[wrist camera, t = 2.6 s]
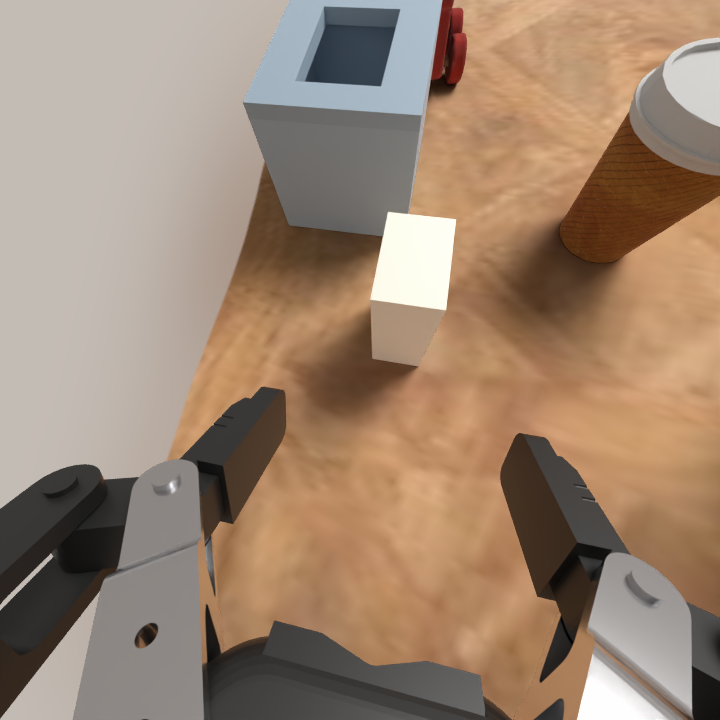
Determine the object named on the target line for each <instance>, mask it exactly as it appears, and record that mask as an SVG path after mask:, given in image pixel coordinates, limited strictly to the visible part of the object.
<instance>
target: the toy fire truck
mask: <svg viewBox="0 0 720 720" xmlns="http://www.w3.org/2000/svg"><path fill="white" fill-rule="evenodd" d="M453 3H454V0H442V7H441V14H440V20H439V27H438V34H437V41H436V47H435V54H434V61H433V68H432V75H431V80H434V79H439V78H440V77H441V75H442V71H443V66H446V67H445V79H446V82H447V83H448V84H453V83H458V82H459V81H460V79H461V77H462V73H463V69H464V65H465V59H466V50H467V38H466V34H465V33H462V27H463V10H462V8H452V6H453Z"/></svg>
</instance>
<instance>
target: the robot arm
mask: <svg viewBox="0 0 720 720" xmlns="http://www.w3.org/2000/svg"><path fill="white" fill-rule="evenodd" d="M285 429H286V402H285V392H284V390H280V389H274V388H268V387H261V388H260V389H259V390H258V391H257V393H256V394H255V395H254V396H253V397H252V398H251V399H249V398H244V399H242V400H240V401H238V402H237V403H235V404H233V405H231V406H230V407H229V408H228V409H227V410H226V412H225V413H224V414H223V415H222V417H220V418H219V419H218V420H217V421H216V422H215V423H214V425H213V426H211V427H210V428H209V429H208V430H207V431H206V432H205V433H204V434H203V435H202V436H201V438H200V439H199V440H198V441H197V442H196V443H195V444H194V445H193V446H192V447H191V448H190V449H189V450H188V451H187V452H186V453H185V454H184V455H183V456H182V457H181V458H180V459H178V460H170V461H166V462H163V463H160V464H158V465H156V466H154V467H152V468H150V469H149V470H147V471H146V472H145V473H143V474H142V475H141V476H140V477H135V478H122V479H107V480H104V479H103V476H102V474H101V472H100V470H99V469H98V468H97V467H95V466H93V465H86V464H84V465H74V466H70V467H66V468H63V469H60V470H58V471H55V472H53V473H51V474H49V475H47V476H45V477H43V478H42V479H40V480H39V481H37V482H36V483H34V484H33V485H31V486H30V487H29V488H28V489H26V490H25V491H23V492H22V493H21V494H19V495H18V496H17V497H15V498H14V499H13V500H12V501H10V502H9V503H8V504H6V505H5V506H4V507H2V508H1V509H0V604H1V603H2V602H3V600H4V599H5V598H6V597H7V596H8V595H9V594H10V593H11V592H12V591H13V590H14V589H15V588H16V587H17V586H18V585H19V584H20V583H21V582H22V581H23V580H24V579H25V578H26V577H27V576H28V575H29V574H30V573H31V572H32V571H33V570H34V569H35V568H36V567H37V566H38V565H39V564H40V563H42V561H43V560H44V559H46V558H47V557H48V556H49V555H50V553H52V555H53V558H52V559H51V560H50V561H49V562H48V563H47V564H46V565H45V566H44V567H43V568H42V569H41V570H40V571H39V572H38V573H37V574H36V575H35V576H34V577H33V578H32V579H31V580H30V581H29V582H28V583H27V584H26V585H25V586H24V587H23V588H22V589H21V590H20V591H19V592H18V593H17V594H16V595H15V596H14V597H13V598H12V599H11V600H10V601H9V602H8V603H7V605H5V606H4V607H3V608H2V609H1V611H0V718H1V717H2V716H3V714H4V713H5V712H6V711H7V709H8V708H9V707H10V705H11V704H12V703H13V702H14V700H15V699H16V698H17V696H18V695H19V694H20V693H21V691H22V690H23V689H24V687H25V686H26V685H27V684H28V682H29V681H30V680H31V678H32V677H33V676H34V675H35V673H36V672H37V671H38V670H39V668H40V667H41V666H42V664H43V663H44V662H45V660H46V659H47V658H48V657H49V655H50V654H51V653H52V652H53V650H54V649H55V648H56V646H57V645H58V644H59V643H60V641H61V640H62V639H63V637H64V636H65V635H66V634H67V632H68V631H69V630H70V628H71V627H72V626H73V625H74V623H75V622H76V621H77V619H78V618H79V617H80V616H81V614H82V613H83V612H84V610H85V609H86V608H87V607H88V605H89V604H90V603H91V601H92V600H93V599H94V598H95V596H96V595H97V594H98V593H99V591H100V595H99V599H98V604H97V608H96V613H95V618H94V622H93V627H92V632H91V636H90V642H89V646H88V651H87V655H86V660H85V665H84V669H83V675H82V679H81V684H80V688H79V693H78V698H77V702H76V707H75V712H74V717H73V720H511V719H510V718H509V717H508V716H507V715H506V714H505V713H504V712H503V711H502V710H501V709H500V708H498V707H497V706H496V705H495V704H494V703H492V702H491V701H490V700H489V699H487V698H485V697H484V696H483V692H482V685H481V678H480V675H477V674H473V673H470V672H466V671H462V670H458V669H455V668H451V667H447V666H443V665H440V664H436V663H432V662H428V661H422V662H412V663H401V664H391V665H381V666H373V665H369V664H368V663H366V662H364V661H363V660H361V659H360V658H358V657H357V656H355V655H354V654H352V653H351V652H349V651H348V650H346V649H345V648H343V647H342V646H340V645H339V644H337V643H336V642H334V641H333V640H331V639H330V638H328V637H327V636H325V635H324V634H323V633H319V632H316V631H312V630H308V629H304V628H301V627H297V626H293V625H289V624H286V623H282V622H278V621H274V623H273V626H272V629H271V632H270V635H269V636H267V637H260V638H256V639H252V640H248V641H246V642H243V643H241V644H238V645H236V646H234V647H232V648H230V649H229V650H227V651H224V641H223V632H222V624H221V618H220V611H219V603H218V591H217V579H216V567H215V555H214V542H213V534H212V533H213V531H214V530H215V528H216V527H217V525H218V523H219V522H220V521H222V522H227V523H231V524H233V523H234V522H235V520H236V518H237V516H238V515H239V513H240V511H241V510H242V508H243V506H244V504H245V503H246V501H247V499H248V498H249V496H250V494H251V493H252V491H253V489H254V487H255V486H256V484H257V482H258V481H259V479H260V477H261V475H262V474H263V472H264V470H265V469H266V467H267V465H268V464H269V462H270V460H271V458H272V457H273V455H274V453H275V452H276V450H277V448H278V447H279V445H280V443H281V441H282V439H283V437H284V434H285ZM500 480H501V486H502V489H503V492H504V495H505V498H506V501H507V504H508V507H509V511H510V514H511V517H512V520H513V523H514V526H515V529H516V532H517V535H518V538H519V541H520V545H521V548H522V551H523V554H524V557H525V560H526V563H527V566H528V569H529V572H530V576H531V579H532V582H533V585H534V588H535V591H536V594H537V597H541V598H546V599H550V600H554V601H556V603H557V605H558V608H559V611H560V612H559V613H558V614H557V616H556V618H555V620H554V623H553V625H552V628H551V631H550V634H549V637H548V639H547V642H546V645H545V648H544V651H543V653H542V656H541V659H540V662H539V665H538V667H537V670H536V673H535V676H534V679H533V681H532V684H531V686H530V689H529V691H528V693H527V695H526V696H525V698H524V700H523V701H522V703H521V705H520V706H519V708H518V710H517V712H516V714H515V716H514V719H513V720H720V618H719V617H717V616H715V615H713V614H711V613H708V612H706V611H704V610H702V609H700V608H698V607H696V606H694V605H692V604H690V603H688V602H686V601H685V600H684V599H683V597H682V596H681V594H680V593H679V592H678V590H677V589H676V588H675V587H674V586H673V585H672V583H671V582H670V581H669V580H668V579H667V578H665V577H664V576H663V575H662V574H661V573H660V572H658V571H657V570H656V569H655V568H653V567H652V566H650V565H649V564H647V563H646V562H644V561H642V560H640V559H638V558H636V557H634V556H631V555H630V553H629V551H628V550H627V548H626V547H625V545H624V544H623V542H622V540H621V539H620V537H619V536H618V534H617V533H616V531H615V529H614V528H613V526H612V525H611V523H610V522H609V520H608V519H607V517H606V515H605V514H604V512H603V511H602V509H601V508H600V506H599V504H598V503H596V502H595V498H594V497H593V495H592V493H591V492H590V490H589V489H587V486H586V484H585V482H584V481H583V479H582V478H581V476H580V475H579V473H578V471H577V470H576V469H575V468H573V467H572V466H571V465H570V464H569V463H568V462H567V461H566V460H565V459H564V458H563V457H560V456H557V455H556V453H555V452H554V450H553V448H552V446H551V445H550V443H549V441H548V440H547V439H546V438H544V437H539V436H533V435H528V434H522V433H519V434H517V435H516V436H515V438H514V440H513V443H512V445H511V447H510V449H509V452H508V454H507V456H506V458H505V461H504V463H503V465H502V468H501V474H500ZM116 569H117V570H116Z"/></svg>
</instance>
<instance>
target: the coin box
mask: <svg viewBox="0 0 720 720" xmlns="http://www.w3.org/2000/svg"><path fill="white" fill-rule="evenodd" d="M441 7H442V0H290V1H289V3H288V5H287V7H286V10H285V12H284V14H283V16H282V18H281V20H280V23H279V25H278V27H277V29H276V31H275V33H274V36H273V38H272V40H271V42H270V44H269V47H268V49H267V51H266V53H265V56H264V57H263V60H262V62H261V64H260V66H259V68H258V71H257V73H256V75H255V77H254V79H253V81H252V84H251V86H250V88H249V90H248V92H247V95H246V97H245V99H244V101H243V104H244V107H245V109H246V112H247V114H248V117H249V120H250V122H251V125H252V128H253V131H254V133H255V136H256V138H257V141H258V144H259V147H260V149H261V152H262V154H263V157H264V160H265V163H266V165H267V168H268V171H269V173H270V176H271V179H272V181H273V184H274V187H275V189H276V192H277V195H278V197H279V200H280V203H281V205H282V208H283V211H284V213H285V216H286V219H287V221H288V224H289V225H290V226H299V227H307V228H315V229H324V230H332V231H341V232H349V233H358V234H366V235H375V236H383V235H384V230H385V225H386V220H387V215H388V212H393V213H402V214H409V211H410V205H411V200H412V194H413V188H414V182H415V176H416V171H417V165H418V159H419V153H420V147H421V142H422V135H423V129H424V122H425V115H426V108H427V102H428V95H429V88H430V81H431V75H432V68H433V61H434V54H435V47H436V41H437V34H438V27H439V20H440V14H441Z"/></svg>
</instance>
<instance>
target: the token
mask: <svg viewBox="0 0 720 720" xmlns="http://www.w3.org/2000/svg"><path fill="white" fill-rule="evenodd" d="M455 224H456V219H448V218H439V217H430V216H420V215H411V214H402V213H393V212H388V215H387V220H386V225H385V230H384V235H383V240H382V245H381V250H380V254H379V259H378V264H377V269H376V274H375V279H374V284H373V289H372V294H371V299H370V302H371V335H372V359H377V360H383V361H389V362H395V363H401V364H407V365H413V366H419V365H420V363H421V361H422V358H423V356H424V354H425V352H426V350H427V348H428V346H429V344H430V342H431V340H432V338H433V336H434V334H435V332H436V330H437V328H438V326H439V324H440V322H441V320H442V318H443V315H444V313H445V311H446V306H447V297H448V288H449V279H450V270H451V260H452V251H453V242H454V233H455Z"/></svg>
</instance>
